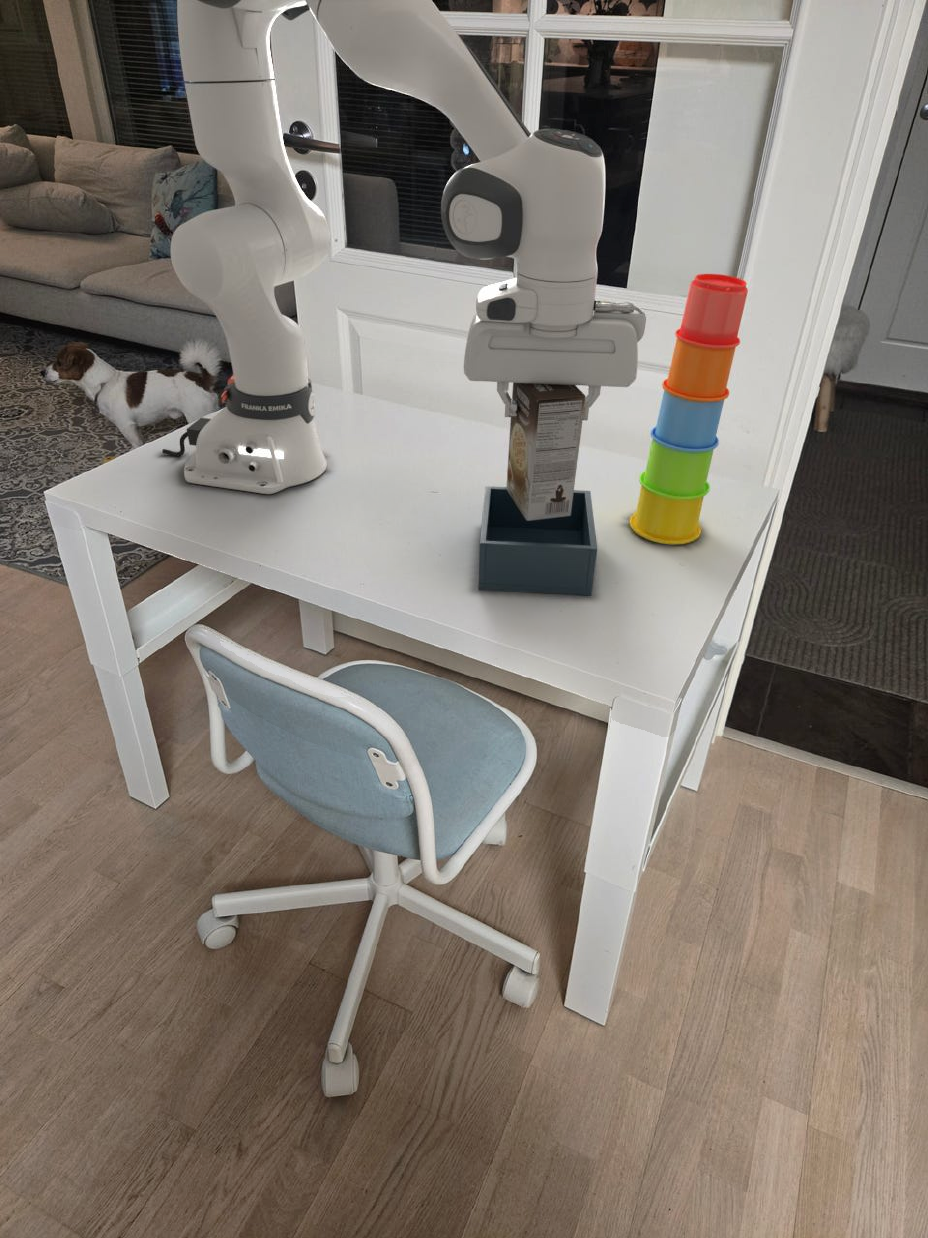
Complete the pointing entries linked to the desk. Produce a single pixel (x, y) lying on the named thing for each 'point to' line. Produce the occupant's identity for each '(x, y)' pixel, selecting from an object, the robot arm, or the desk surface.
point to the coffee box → (544, 448)
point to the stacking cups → (690, 412)
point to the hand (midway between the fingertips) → (545, 417)
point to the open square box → (536, 547)
